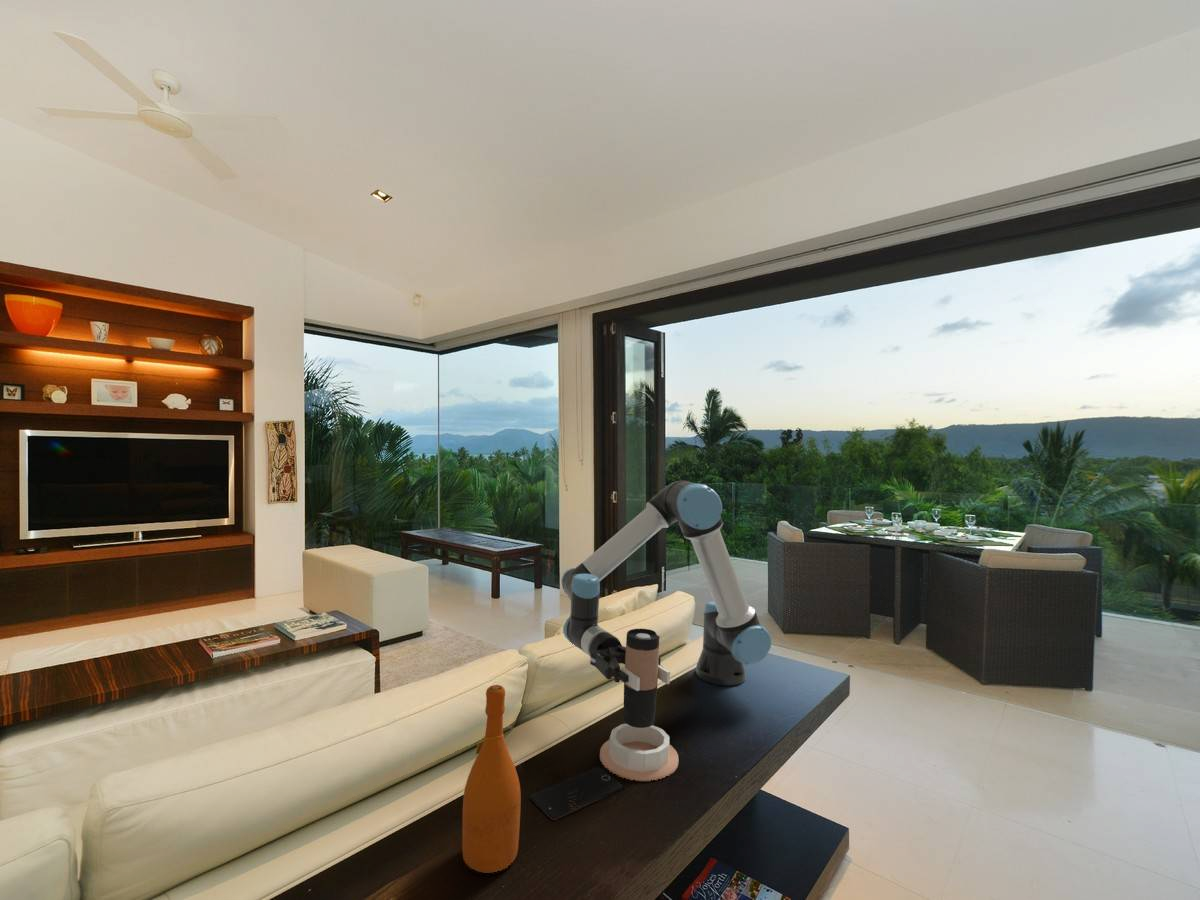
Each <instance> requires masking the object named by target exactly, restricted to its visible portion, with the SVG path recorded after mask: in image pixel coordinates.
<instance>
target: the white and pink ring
mask: <svg viewBox="0 0 1200 900" xmlns="http://www.w3.org/2000/svg"><path fill="white" fill-rule="evenodd" d="M599 760H600V762H602V763H601V765H602V766H603V765H604V766H603V767H604V768H605V769H606V768H607V769H608V770H609V771H608V770H607V769H606V770H607V771H608V772H609V773H611V772H612V773H611V774H613V775H614V774H616V775H615V776H617V775H618V776H617V777H618V778H619V777H620V778H621V777H622V778H621V779H624V778H626V779H625V780H628V779H629V781H633V780H635V781H636V782H654V781H653V780H655V781H658V779H660V780H663V779H665V777H666V776H668V777H670V776H671V775H673V773H675V771H676V770H677V769H678V767H679V762H680V761H679V754H678V752H677V750H676V749H675V748H674V746H672V745H671V744H670V735H669V734H667V732H666V731H665V730H664V729H662V728H661V727H658V726H655V725H654V724H653V725H652V726H650V727H646V728H636V727H632V726H630V725H628V724H626V723H621V724H620V725H618V726H616V727H614V728H613V729H611V733H610V736H609V739H608V740H607V741H605V742H604V743H603V744H602V745H601V747H600V750H599ZM670 774H671V775H670ZM662 778H663V779H662ZM666 778H667V777H666ZM651 780H652V781H651Z"/></svg>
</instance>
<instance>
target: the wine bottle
mask: <svg viewBox="0 0 1200 900" xmlns="http://www.w3.org/2000/svg"><path fill="white" fill-rule="evenodd" d="M485 696H486V697H485V698H486V704H485V711H484V713H485V715H486V716H487V717H486V718H487V719H486V725H485V726H486V727H485V733H484V735H483V736H482V737H483V738H484V739H481V740H478V742H477V745H476V750H475V755H477V756H476V758H475V760H474V762H473V764H472V766H471V769H470V771H469V774H468V777H467V780H466V782H465V786H464V791H463V799H462V800H463V801H462V820H461V821H462V822H461V823H462V824H461V825H462V830H461V832H462V836H461V838H462V839H461V840H462V841H461V843H462V845H461V846H462V847H461V849H462V851H461V852H462V859H463V862H464V861H465V862H464V864H465V863H466V864H467V865H468V866H469V867H470V868H472V869H474V870H476V871H479V872H483V873H491V872H492V874H494V873H493V872H497V871H500V872H502V871H504V870H506V869H508V868H509V867H510V866H511V865H512V864H511V863H514V861H515V859H516V857H517V855H518V850H519V840H520V826H521V824H520V823H521V822H520V821H521V801H522V800H521V799H522V798H521V794H522V793H521V792H522V791H521V784H520V779H519V775H518V773H517V769H516V766H515V762H514V761H513V759H512V757H511V754H510V752H509V749H508V747H507V744H506V740H505V736H504V735H505V734H504V730H503V728H504V727H503V725H504V720H503V719H504V713H505V710H506V706H505V700H506V698H505V696H506V689H505V687H504V686H503V685H500V684H492V685H490V686H489V687H487V689H486V692H485ZM466 864H465V865H466ZM467 865H466V866H467ZM509 865H510V866H509ZM468 866H467V867H468ZM508 866H509V867H508ZM470 868H469V869H470ZM505 868H506V869H505ZM503 869H504V870H503ZM501 870H502V871H501ZM497 873H498V872H497Z"/></svg>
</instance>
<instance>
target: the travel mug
mask: <svg viewBox="0 0 1200 900" xmlns="http://www.w3.org/2000/svg"><path fill="white" fill-rule="evenodd" d="M660 638H661V637H660V635H658V634H657V632H656V631H655V630H652V629H649V628H633V629H630V630H628V631H627V632H626V641H625V647H626V656H625V664H624V667H625V668H626V669H627V670H629V671H630V672H632V673H633V674H635V675H636V676H638V677H639V678H640V690H639V691H636V690H635V689H633V688H632V687H630V686H629V685H628V684H626V683H624V682H623V722H624V724H628V725H630V726H632V727H636V728H646V727H650V726H652V725H654V724H655V720H656V719H655V718H656V708H657V707H656V706H657V696H658V695H657V694H658V683H659V682H658V680H659V679H658V660H659V658H660V657H659V653H660Z"/></svg>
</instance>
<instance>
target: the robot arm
mask: <svg viewBox="0 0 1200 900" xmlns="http://www.w3.org/2000/svg"><path fill="white" fill-rule="evenodd" d="M722 514H723V503H722V500H721V498H720V496H719V494H718V493H717V492H716V491H715V490H714V489H712V488H711V487H709V486H708V485H706V484H703V483H697V482H696V483H695V482H692V481H689V480H684V479H683V480H677V481H673V482H671V483H669V484H668V485H666V486H665V487H664V488H663V489H661V490H660V491H658V493H657V494H655V495H654V496H653V497H652V498H650V500H648V501H647V502H646V505H645V508H644V509H643V510H642V511H641V512H639V514H637V515H636V516H635V517H634V518H633V519H632V520H630V521H629V522H628V523H627V524H626V525H624V527H622V528H621V529H619V531H618V532H616V533H615V534H614V535H613V536H612V537H610V538H609V539H608V540H607V541H606V542H605V543H604V544H603V545H601V546H600V547H599V548H598V549H597V550H595V551H594V552H593V553H592V554H591V555H589V556H588V557H587V558H586V559H585V560H584V561H582V562H581V563H580V564H578V565H577V566H576V567H572V568H569V569H567V570H565V571H564V573H563V574H562V576H561V581H560V582H561V586H562V589H563V591H564V593H565V594H566V595H567V597H568V598H569V601H570V616H569V617H568V618H567V619H566V620H565V623H564V625H563V631H562V632H563V635H564V637H565V639H567V641H568V642H569V643H570V642H571V643H572V644H571V643H570V644H571V645H573V644H574V645H575V646H574V645H573V646H574V647H576V648H578V649H580V650H581V651H582V652H583V653H585V654H586V655H588V656H589V657H590V660H589V664H590V665H591V666H594V667H595V668H596V669H597V670H598V671H599V672H600V673H601V675H603V677H604V678H605V679H607V680H612V678H613V679H614V682H615V683H620V682H621V683H623V684H624V683H626V684H628V685H629V686H630V687H632V688H633V689H635V690H636V691H639V690H640V678H639V677H638V676H636V675H635V674H633V673H632V672H630V671H629V670H627V669H626V668H625V666H623V667H621V666H620V665H621V664H624V665H625V656H626V646H623V645H622V643H621V640H620V639H619V638H618V637H616V636H615V635H614V634H611V633H610V632H609V631H607V630H605V629H604V628H602V627H601V626H599V625H598V624H599V610H600V609H599V606H600V605H599V604H600V592H601V588H600V585H601V584H600V583H601V581H602V580H603V579H604V578H606V577H607V576H608V575H609V574H611V573H612V572H613V571H614V570H616V568H617V567H619V565H621V564H622V563H623V562H624V561H626V559H628V558H629V557H631V555H632V554H633V553H635V552H636V551H637V550H638V549H639V548H641V546H643V545H644V544H646V542H647V541H649V540H650V539H651V538H652V537H653V536H655V535H656V534H657V533H658V532H659V531H661V529H664V528H665V529H667V528H669V527H670V526H672V524H674V523H676V522H677V523H678V525H679V528H680V530H681V533H682V535H683V537H684V538H685V539H687V540H690V542H691V544H692V547H693V549H694V553H695V555H696V557H697V560H698V562H699V566H700V568H701V571H702V573H703V574H702V575H703V576H704V579H705V581H706V584H707V587H708V591H709V593H710V594H711V596H712V599H713V600H712V601H707V602H706V603H705V605H704V610H703V611H704V612H703V632H702V633H703V635H702V636H703V638H702V639H703V640H702V649H701V652H700V655H699V658H698V659H697V662H696V666H695V669H696V670H695V674H696V676H697V677H698V678H699V679H700V680H702V681H704V682H707V683H710V684H714V685H719V686H737V685H740V684H742V683H744V682H745V681H746V679H747V673H746V668H745V666H753V665H756V664H759V663H760V662H762V661H764V659H765V658H767V656H768V654H769V652H770V650H771V648H772V637H771V635H770V633H769V631H768V630H767V629H766V627H764V626H762V624H761V623H760V620H759V617H758V615H757V612H756V609H755V607H753V606H751V605H749V604H748V602H747V600H746V597H745V595H744V592H743V589H742V587H741V584H740V582H739V578H738V576H737V573H736V571H735V568H734V565H733V562H732V560H731V559H732V558H731V557H730V553H729V552H728V549H727V546H726V543H725V540H724V538H723V535H722V532H721V529H722V527H723V525H724V522H723V519H722V516H721V515H722ZM661 662H662V661H661V658H660V657H659V660H658V680H659V681H661V682H663V683H664V684H666V685H670V683H671V680H670V679H671V671H670V670H668V669H666V668H665V667H664V666H662V665H661Z"/></svg>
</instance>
